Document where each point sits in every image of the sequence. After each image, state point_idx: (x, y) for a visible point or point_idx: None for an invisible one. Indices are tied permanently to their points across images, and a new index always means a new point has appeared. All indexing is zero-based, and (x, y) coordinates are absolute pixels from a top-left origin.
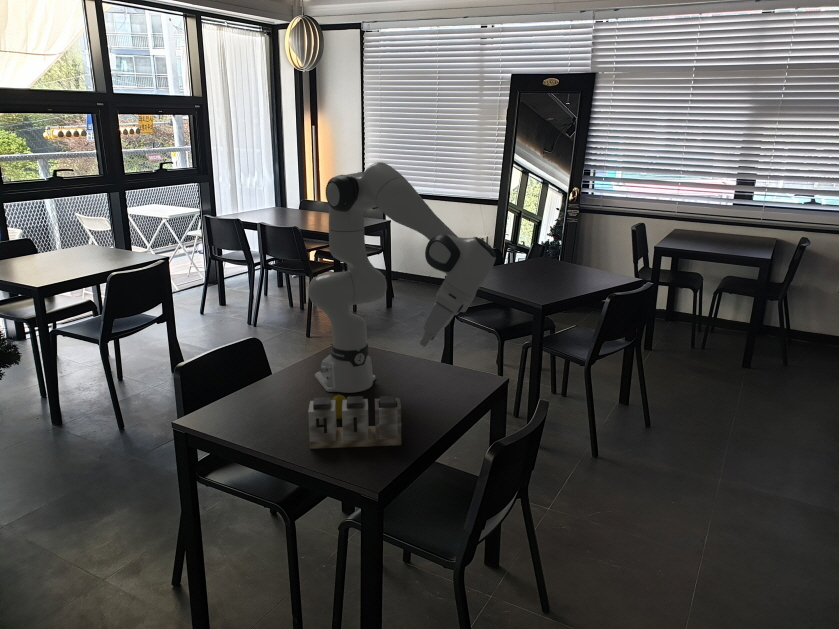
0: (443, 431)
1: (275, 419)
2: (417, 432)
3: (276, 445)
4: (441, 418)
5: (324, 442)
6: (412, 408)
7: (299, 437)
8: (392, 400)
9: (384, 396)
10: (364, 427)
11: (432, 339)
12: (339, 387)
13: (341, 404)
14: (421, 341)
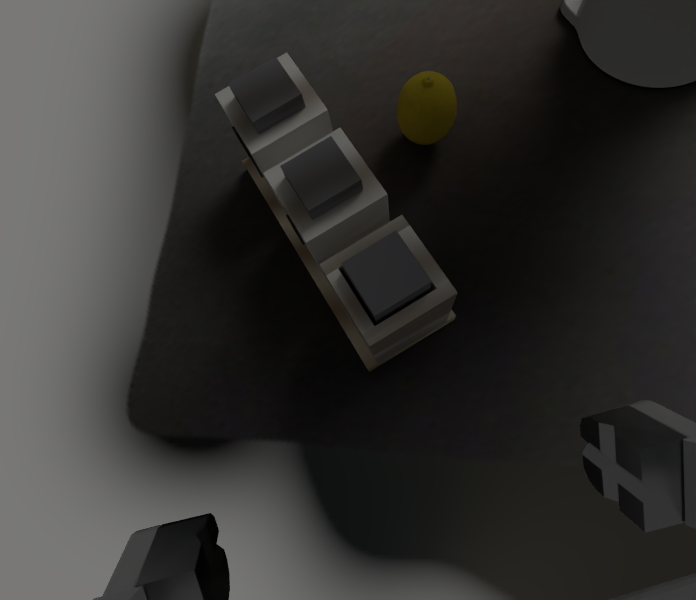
0: (521, 457)
1: (342, 13)
2: (468, 378)
3: None
4: (608, 408)
5: (262, 188)
6: (617, 281)
7: None
8: (385, 293)
9: (404, 247)
10: (313, 257)
11: (598, 483)
12: (585, 22)
13: (410, 115)
14: (127, 560)
